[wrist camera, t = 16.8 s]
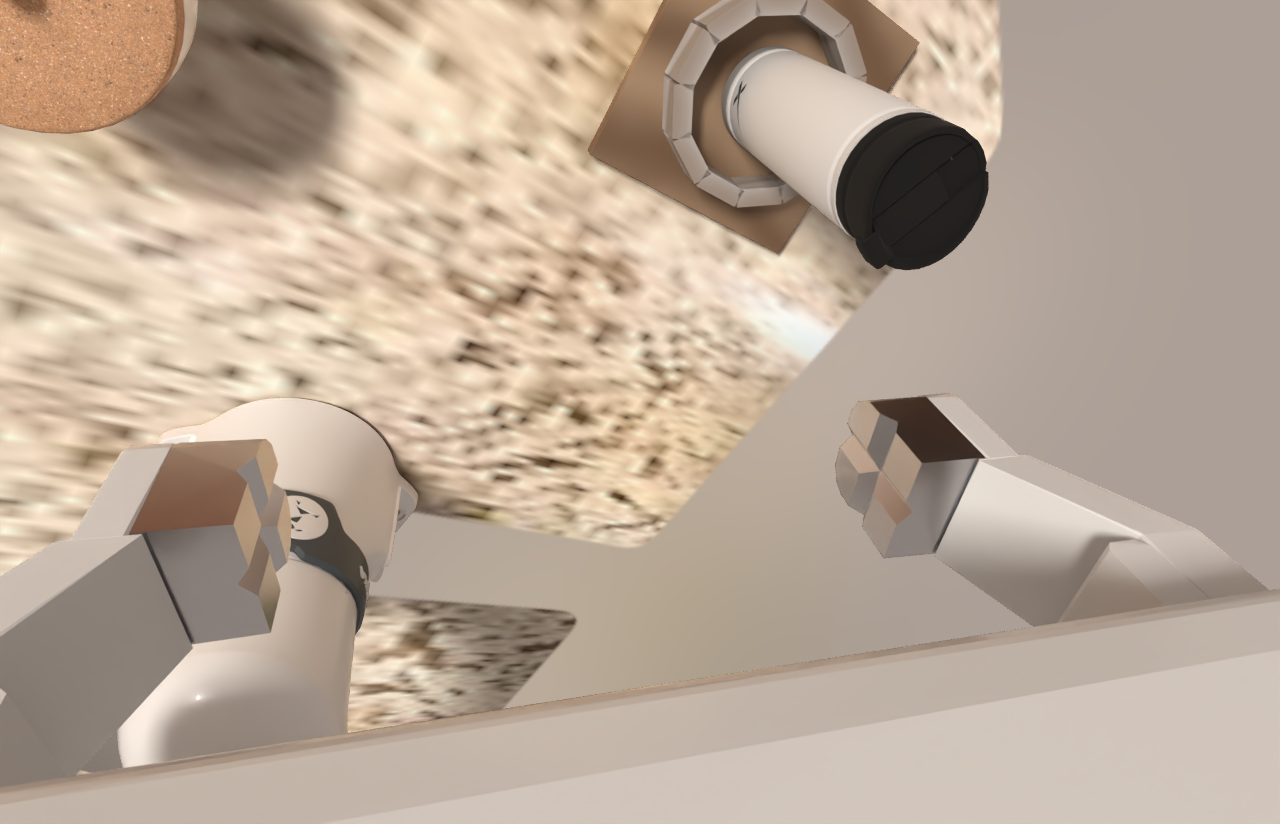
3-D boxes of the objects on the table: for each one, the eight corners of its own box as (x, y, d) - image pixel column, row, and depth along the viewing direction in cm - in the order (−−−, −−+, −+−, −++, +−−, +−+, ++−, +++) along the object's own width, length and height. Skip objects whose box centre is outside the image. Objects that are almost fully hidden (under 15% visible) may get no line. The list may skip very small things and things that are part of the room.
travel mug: (697, 95, 45) (837, 206, 29) (783, 21, 43) (979, 96, 28) (746, 171, 48) (894, 305, 33) (827, 105, 47) (1022, 212, 31)
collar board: (772, 248, 53) (790, 267, 51) (587, 150, 46) (597, 166, 43) (911, 40, 47) (941, 49, 44) (720, -114, 39) (741, -114, 37)
